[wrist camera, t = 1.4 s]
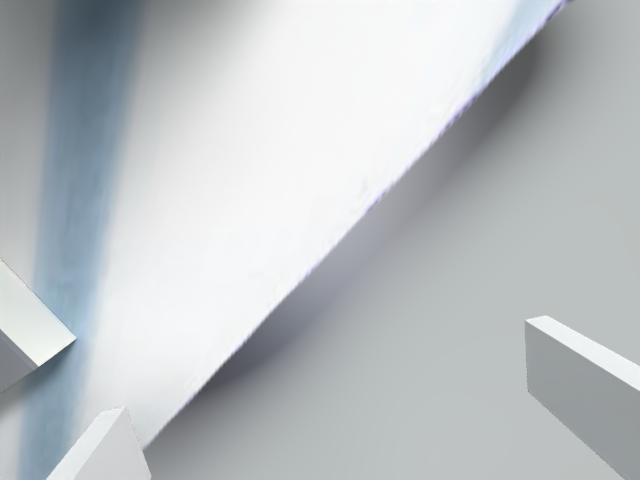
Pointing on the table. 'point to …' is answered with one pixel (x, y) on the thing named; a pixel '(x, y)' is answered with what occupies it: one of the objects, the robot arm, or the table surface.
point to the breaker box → (25, 330)
